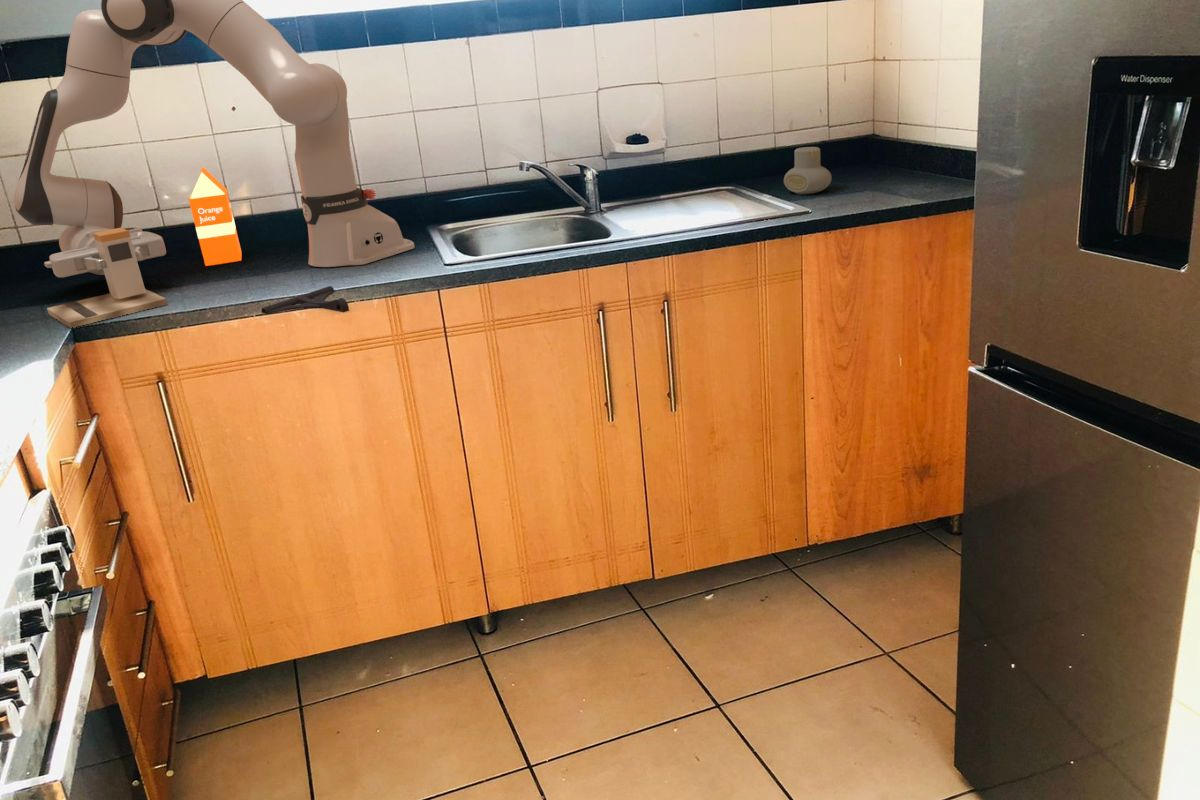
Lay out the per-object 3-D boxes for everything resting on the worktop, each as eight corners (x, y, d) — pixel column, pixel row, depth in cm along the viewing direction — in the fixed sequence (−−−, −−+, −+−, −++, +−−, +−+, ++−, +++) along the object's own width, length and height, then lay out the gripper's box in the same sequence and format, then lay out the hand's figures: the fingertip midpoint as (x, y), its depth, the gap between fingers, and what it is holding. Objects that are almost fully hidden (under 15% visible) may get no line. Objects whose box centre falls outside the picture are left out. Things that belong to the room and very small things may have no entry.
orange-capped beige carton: (137, 288, 184) (120, 227, 179) (146, 292, 180) (129, 230, 176) (110, 295, 181) (92, 233, 176) (118, 299, 177) (100, 236, 173)
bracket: (311, 327, 158) (308, 311, 157) (262, 316, 167) (258, 300, 166) (380, 303, 168) (377, 288, 167) (330, 294, 177) (327, 280, 176)
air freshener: (837, 190, 221) (837, 147, 217) (815, 197, 216) (815, 152, 213) (800, 187, 229) (800, 144, 225) (778, 193, 224) (777, 150, 221)
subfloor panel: (141, 292, 190) (139, 285, 189) (167, 304, 178) (165, 298, 178) (48, 314, 180) (46, 307, 179) (70, 329, 168) (68, 322, 168)
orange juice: (204, 266, 207) (181, 173, 199) (206, 258, 215) (184, 168, 207) (242, 260, 209) (220, 168, 201) (242, 252, 217) (221, 163, 209)
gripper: (36, 247, 180) (54, 256, 170) (147, 225, 192) (170, 232, 182) (46, 279, 182) (65, 290, 173) (155, 255, 195) (178, 264, 185)
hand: (120, 260), depth 178 cm, fingers closed on orange-capped beige carton, 5 cm apart
